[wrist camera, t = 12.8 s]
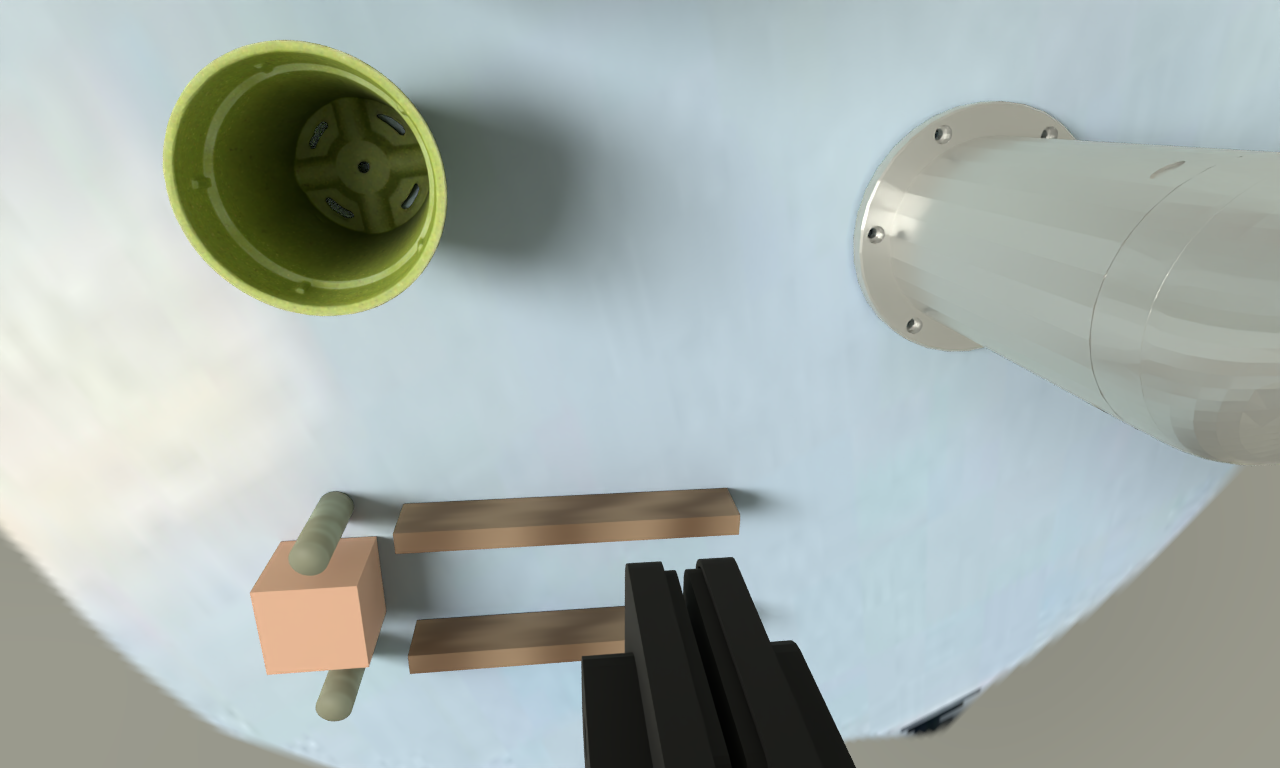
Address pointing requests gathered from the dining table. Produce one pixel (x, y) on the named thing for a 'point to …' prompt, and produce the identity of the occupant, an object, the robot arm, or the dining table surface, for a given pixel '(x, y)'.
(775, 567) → the dining table surface
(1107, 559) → the dining table surface
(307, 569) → the chute
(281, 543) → the block
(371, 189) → the plant pot
